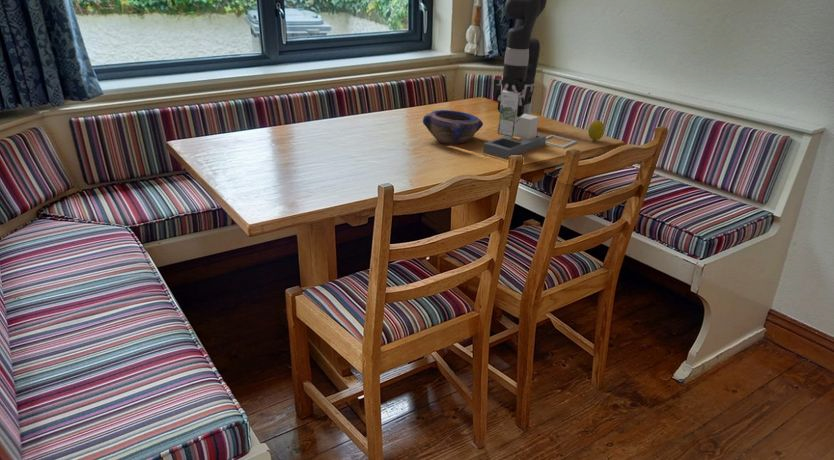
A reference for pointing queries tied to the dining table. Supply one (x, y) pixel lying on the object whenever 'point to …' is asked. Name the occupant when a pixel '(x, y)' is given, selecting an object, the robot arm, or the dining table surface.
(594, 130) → the lemon
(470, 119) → the bowl
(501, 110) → the syrup box
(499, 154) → the socket strip
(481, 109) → the dining table surface
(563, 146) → the tray
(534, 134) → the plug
